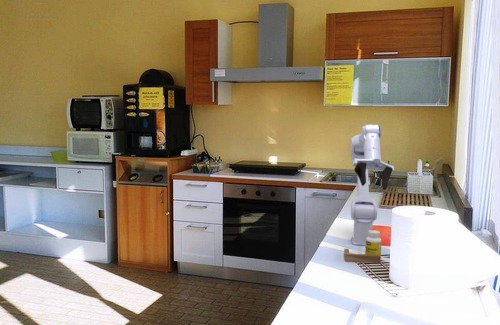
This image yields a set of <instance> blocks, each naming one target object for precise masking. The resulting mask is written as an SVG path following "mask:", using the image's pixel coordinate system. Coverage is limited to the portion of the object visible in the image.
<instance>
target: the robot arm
mask: <svg viewBox="0 0 500 325" xmlns="http://www.w3.org/2000/svg"><path fill="white" fill-rule="evenodd" d="M361 127H362V128H361V132H360V133H359V134H357V135H354V136H353V137H351V138H350V157H351V159H352V166H353V167H354V170H353V171H354V172H355V174H356V178H357V180H356V182H357V196H356V197H354V198H353V199H352V200H351V203H350V218H351V220H353V236H352V237H351V241H352V245H354V246H357V245H358V246H366V238H367V237H368V236H369V235H368V231H370V230H373V228H374V227H373V224H374V222H375V221H376V220H378V219H377V218H378V207H377V201H376V200H375V199H374V198H373V197H371V196H370V186H369V185H370V184H369V171H381V174H380V175H379V177H380V180H381V187H382V190H383V191H385V190H386V189H387V188H388V184H389V180H390V177H391V174H393V173H394V171H395V167H394V165H391V164H389V163H387V162H384V161H383V160H382V153H381V136H382V128H381V125H380V124H364V126H361Z"/></svg>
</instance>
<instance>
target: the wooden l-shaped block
mask: <svg viewBox="0 0 500 325" xmlns="http://www.w3.org/2000/svg"><path fill="white" fill-rule="evenodd" d="M343 255H344V262H348V263H364V264H381V261H382V257H381V256H382V255H381V256H380V255H367V254H364V253H350V249H349V248H344V252H343Z"/></svg>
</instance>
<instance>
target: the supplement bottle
mask: <svg viewBox="0 0 500 325" xmlns="http://www.w3.org/2000/svg"><path fill="white" fill-rule="evenodd" d="M380 234H381V232H380V231H379V230H375V229H374V230H373V229H372V230H370V231H368V235H369V236H368V237H367V238H366V245H365V251H364V252H365V254H367V255H380V256H382V238H381V237H380V236H381V235H380Z"/></svg>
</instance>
